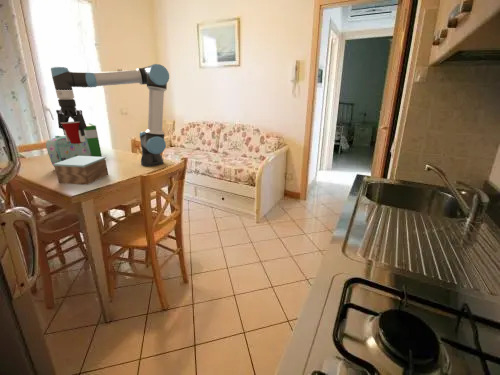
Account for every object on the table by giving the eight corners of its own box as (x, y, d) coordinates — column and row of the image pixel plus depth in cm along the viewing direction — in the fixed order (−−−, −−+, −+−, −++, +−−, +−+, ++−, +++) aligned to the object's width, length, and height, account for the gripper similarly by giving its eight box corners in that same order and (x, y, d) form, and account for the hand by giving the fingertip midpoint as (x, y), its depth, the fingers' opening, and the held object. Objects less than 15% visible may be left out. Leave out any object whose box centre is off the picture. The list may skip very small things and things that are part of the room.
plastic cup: (83, 140, 153) (79, 119, 149) (91, 142, 147) (86, 121, 142) (62, 143, 145) (57, 121, 141) (69, 145, 139) (63, 122, 135)
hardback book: (85, 153, 212) (79, 124, 204) (95, 152, 217) (89, 123, 208) (91, 157, 200) (84, 126, 191) (101, 156, 205) (95, 125, 196)
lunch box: (63, 171, 167) (54, 138, 160) (50, 170, 169) (41, 137, 162) (94, 160, 192) (88, 131, 184) (82, 160, 194) (75, 131, 186)
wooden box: (108, 174, 161) (105, 159, 157) (87, 184, 144) (83, 167, 140) (82, 173, 163) (78, 158, 160) (58, 182, 146) (54, 165, 143)
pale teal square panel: (106, 158, 157) (105, 156, 157) (83, 167, 140) (83, 165, 140) (78, 157, 160) (78, 155, 159) (53, 165, 143) (52, 164, 142)
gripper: (42, 98, 135) (54, 142, 144) (78, 99, 133) (87, 143, 141) (54, 98, 142) (65, 139, 151) (88, 98, 140) (97, 140, 148)
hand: (76, 141), depth 146 cm, fingers closed on plastic cup, 8 cm apart
